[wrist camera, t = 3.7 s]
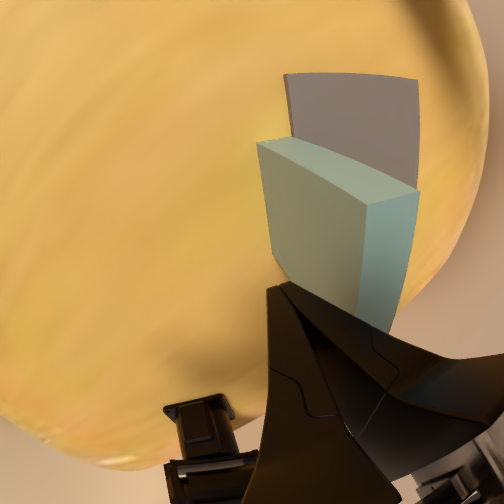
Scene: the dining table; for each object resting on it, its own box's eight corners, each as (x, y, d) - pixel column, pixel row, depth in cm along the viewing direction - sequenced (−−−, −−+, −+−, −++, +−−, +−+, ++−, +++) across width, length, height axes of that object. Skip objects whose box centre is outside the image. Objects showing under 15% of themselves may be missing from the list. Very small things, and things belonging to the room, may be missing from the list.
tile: (301, 244, 18) (384, 346, 10) (272, 253, 17) (345, 366, 10) (291, 136, 14) (419, 191, 6) (256, 142, 13) (366, 205, 6)
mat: (404, 247, 21) (407, 250, 21) (303, 285, 19) (305, 288, 19) (413, 79, 13) (417, 80, 13) (283, 74, 12) (286, 74, 11)
